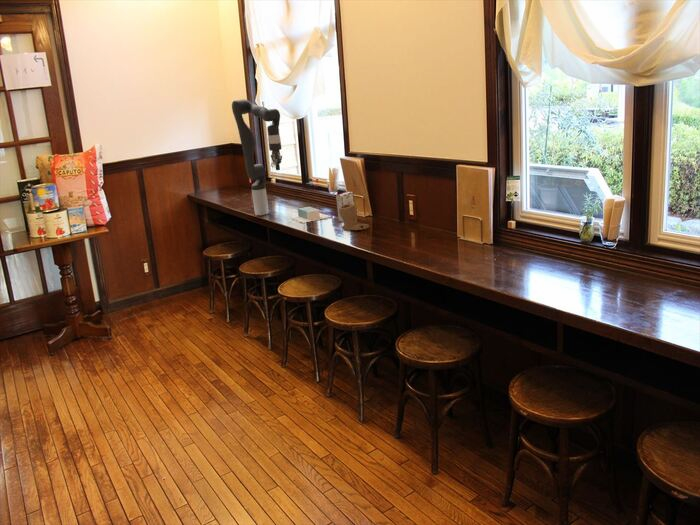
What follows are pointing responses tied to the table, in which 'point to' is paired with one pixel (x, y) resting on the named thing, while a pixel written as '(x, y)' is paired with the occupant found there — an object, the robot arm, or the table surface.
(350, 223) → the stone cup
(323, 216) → the mat
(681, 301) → the table surface
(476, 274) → the table surface
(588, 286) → the table surface
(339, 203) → the candy bar box
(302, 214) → the teal block
